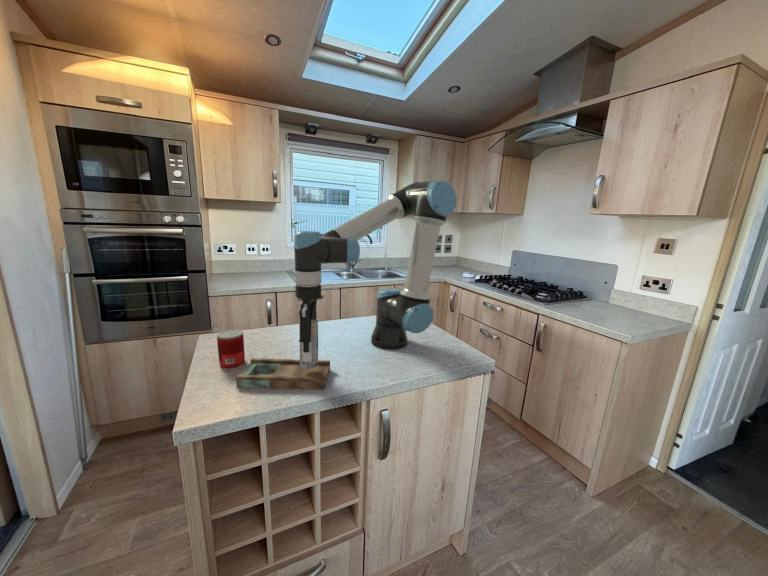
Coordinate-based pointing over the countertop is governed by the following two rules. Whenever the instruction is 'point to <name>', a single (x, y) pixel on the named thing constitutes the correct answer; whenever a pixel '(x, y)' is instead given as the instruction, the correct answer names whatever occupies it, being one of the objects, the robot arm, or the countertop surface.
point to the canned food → (231, 348)
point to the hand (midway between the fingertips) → (309, 356)
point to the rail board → (284, 374)
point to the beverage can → (314, 347)
